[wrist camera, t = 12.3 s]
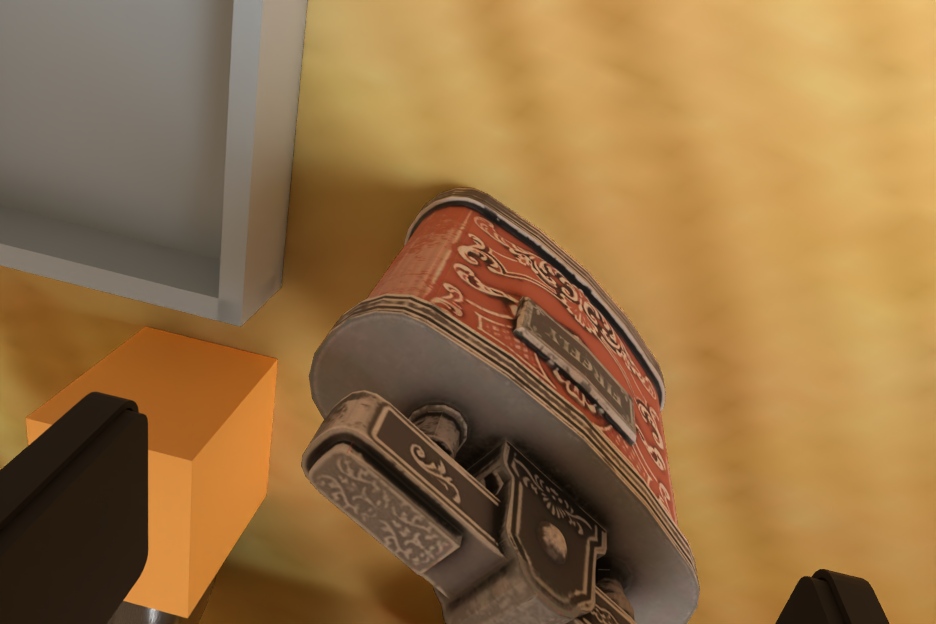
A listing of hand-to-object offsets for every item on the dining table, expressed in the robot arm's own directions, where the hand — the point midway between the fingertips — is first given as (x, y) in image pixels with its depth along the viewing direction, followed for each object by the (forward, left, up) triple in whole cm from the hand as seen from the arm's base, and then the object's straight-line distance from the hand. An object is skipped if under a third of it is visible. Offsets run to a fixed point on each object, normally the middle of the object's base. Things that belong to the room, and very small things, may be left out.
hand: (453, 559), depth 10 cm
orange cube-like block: (+8, +6, -10) cm, 14 cm away
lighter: (-1, 0, -10) cm, 10 cm away
